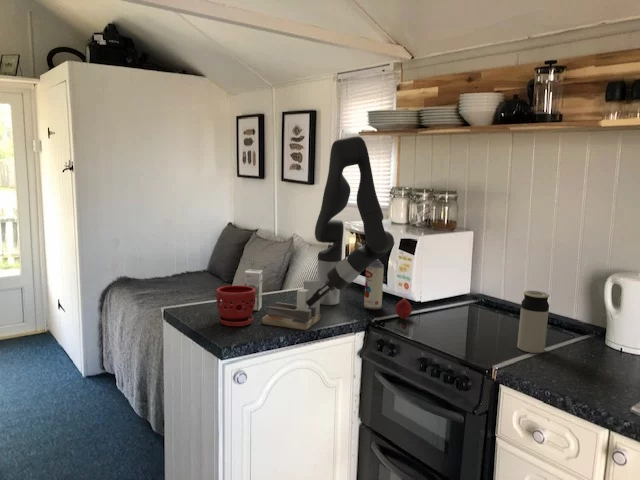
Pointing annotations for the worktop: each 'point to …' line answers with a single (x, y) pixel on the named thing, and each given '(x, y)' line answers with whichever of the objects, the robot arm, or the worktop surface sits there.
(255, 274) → the syrup box
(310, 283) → the skincare box
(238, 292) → the plant pot
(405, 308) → the onion
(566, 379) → the worktop surface
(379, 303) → the aerosol can
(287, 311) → the switch plate
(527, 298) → the travel mug
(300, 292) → the switch knob
